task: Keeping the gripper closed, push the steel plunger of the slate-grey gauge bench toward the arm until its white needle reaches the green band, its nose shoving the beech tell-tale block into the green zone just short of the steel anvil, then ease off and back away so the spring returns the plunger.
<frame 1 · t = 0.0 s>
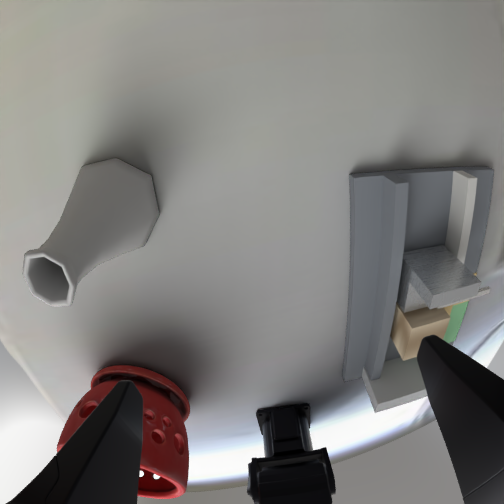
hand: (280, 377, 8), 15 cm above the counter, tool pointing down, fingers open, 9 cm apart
plant pot 2: (138, 387, 31), on the counter
gauge bench: (407, 286, 26), on the counter
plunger: (457, 283, 21), point 4 cm above the counter, slide at 0.0 cm
flask: (115, 204, 21), on the counter
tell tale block: (408, 311, 26), point 1 cm above the counter, touching gauge bench
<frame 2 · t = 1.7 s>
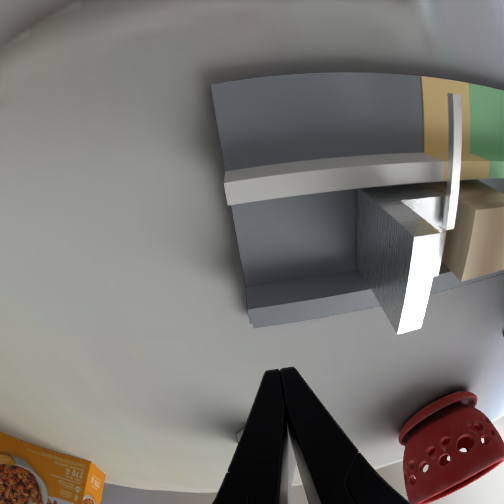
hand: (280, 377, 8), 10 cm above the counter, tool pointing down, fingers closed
plant pot 2: (431, 413, 31), on the counter
cereal box: (45, 453, 35), on the counter
gauge bench: (418, 209, 17), on the counter
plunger: (421, 199, 12), point 4 cm above the counter, slide at 0.0 cm
flask: (269, 432, 28), on the counter
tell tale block: (454, 212, 16), point 1 cm above the counter, touching gauge bench
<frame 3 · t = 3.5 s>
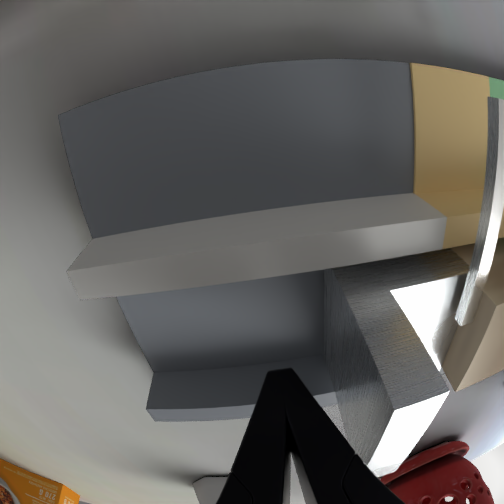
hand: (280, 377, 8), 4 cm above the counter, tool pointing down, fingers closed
plant pot 2: (417, 460, 25), on the counter
cereal box: (22, 470, 30), on the counter
gauge bench: (402, 272, 11), on the counter
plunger: (427, 289, 7), point 4 cm above the counter, slide at 1.0 cm, touching gripper
flask: (229, 482, 23), on the counter
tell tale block: (460, 275, 11), point 1 cm above the counter
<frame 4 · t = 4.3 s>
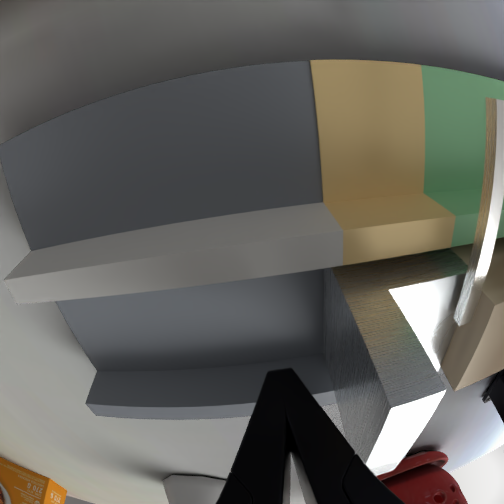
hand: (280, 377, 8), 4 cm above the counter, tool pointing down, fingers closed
plant pot 2: (394, 468, 26), on the counter
cereal box: (13, 465, 30), on the counter
gauge bench: (331, 284, 12), on the counter
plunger: (426, 289, 7), point 4 cm above the counter, slide at 4.1 cm, touching gripper
flask: (199, 482, 23), on the counter
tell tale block: (459, 275, 11), point 1 cm above the counter
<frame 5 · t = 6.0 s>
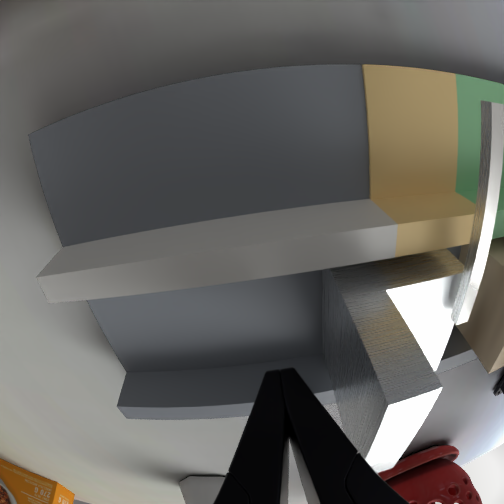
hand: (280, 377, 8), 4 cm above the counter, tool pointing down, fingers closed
plant pot 2: (406, 463, 26), on the counter
cereal box: (18, 469, 30), on the counter
gauge bench: (368, 278, 12), on the counter
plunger: (422, 289, 7), point 4 cm above the counter, slide at 2.5 cm, touching gripper
flask: (215, 482, 23), on the counter
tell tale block: (486, 267, 11), point 1 cm above the counter, touching gauge bench
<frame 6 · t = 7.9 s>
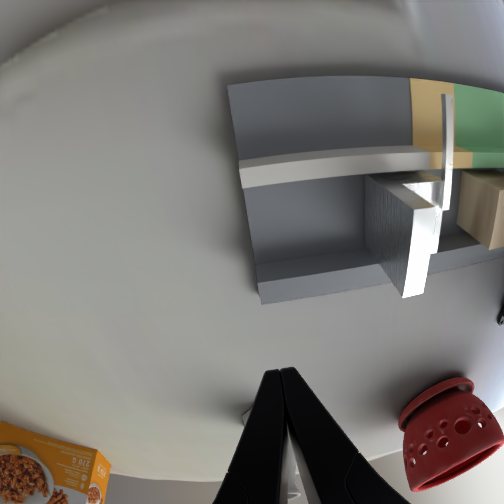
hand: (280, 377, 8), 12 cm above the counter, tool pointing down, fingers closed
plant pot 2: (430, 399, 32), on the counter
cereal box: (51, 443, 37), on the counter
gauge bench: (409, 197, 19), on the counter
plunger: (420, 182, 14), point 4 cm above the counter, slide at 0.7 cm
flask: (274, 414, 30), on the counter
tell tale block: (478, 196, 18), point 1 cm above the counter, touching gauge bench
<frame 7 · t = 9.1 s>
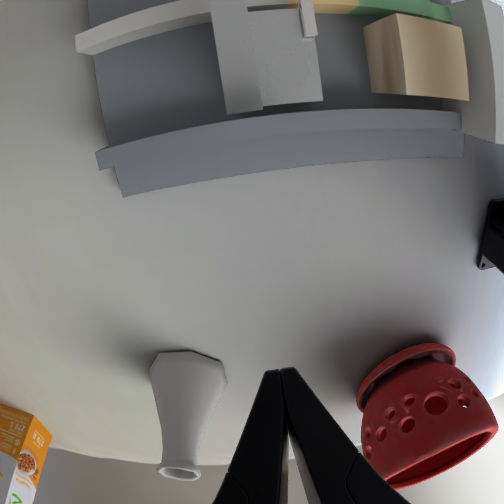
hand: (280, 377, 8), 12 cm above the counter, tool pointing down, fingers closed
plant pot 2: (399, 374, 28), on the counter
gauge bench: (296, 61, 14), on the counter
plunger: (262, 4, 10), point 4 cm above the counter, slide at 0.7 cm
flask: (188, 373, 26), on the counter
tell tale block: (398, 61, 13), point 1 cm above the counter, touching gauge bench
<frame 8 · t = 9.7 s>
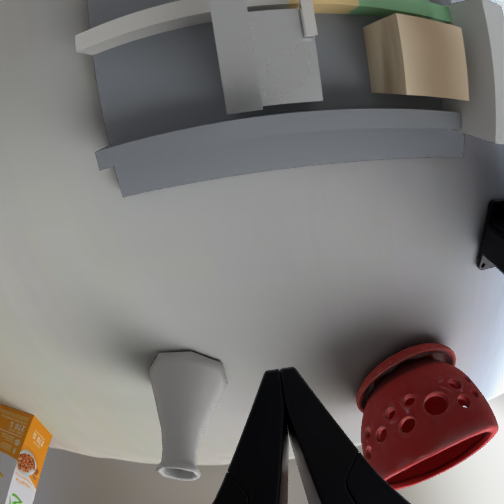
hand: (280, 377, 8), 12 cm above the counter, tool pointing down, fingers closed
plant pot 2: (399, 374, 28), on the counter
gauge bench: (296, 61, 14), on the counter
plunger: (262, 4, 10), point 4 cm above the counter, slide at 0.7 cm
flask: (188, 373, 26), on the counter
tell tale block: (398, 61, 13), point 1 cm above the counter, touching gauge bench
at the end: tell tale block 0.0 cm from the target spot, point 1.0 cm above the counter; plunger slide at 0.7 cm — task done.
